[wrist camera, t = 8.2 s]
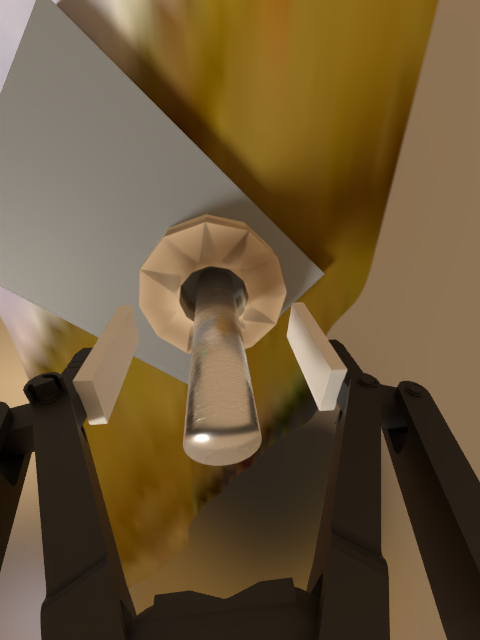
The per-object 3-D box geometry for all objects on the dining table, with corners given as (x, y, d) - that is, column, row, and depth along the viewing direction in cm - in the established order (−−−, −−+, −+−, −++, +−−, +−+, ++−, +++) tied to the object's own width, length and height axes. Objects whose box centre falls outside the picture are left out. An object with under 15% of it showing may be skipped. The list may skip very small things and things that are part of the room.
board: (-44, 248, 21) (-61, 254, 19) (55, 3, 15) (40, -11, 13) (200, 381, 30) (200, 390, 29) (318, 268, 25) (324, 273, 23)
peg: (190, 286, 23) (167, 450, 10) (212, 261, 22) (217, 405, 9) (217, 306, 24) (227, 473, 11) (239, 282, 23) (277, 436, 10)
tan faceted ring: (121, 291, 22) (110, 308, 20) (202, 182, 19) (201, 186, 16) (221, 353, 27) (222, 374, 24) (301, 275, 23) (313, 290, 21)
